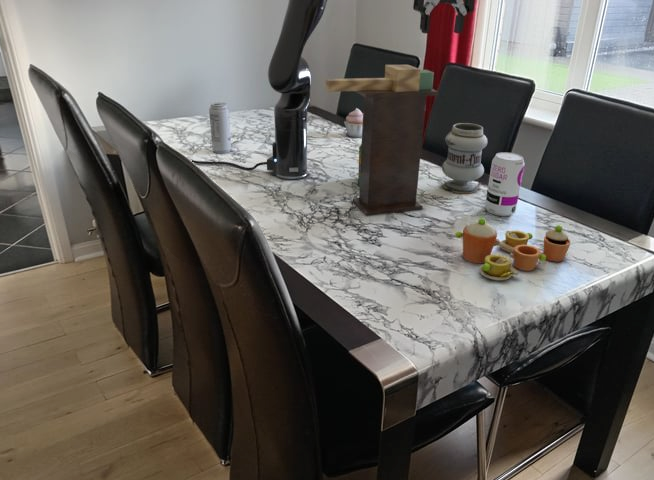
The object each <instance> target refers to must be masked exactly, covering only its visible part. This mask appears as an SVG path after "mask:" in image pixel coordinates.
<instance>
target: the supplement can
mask: <svg viewBox="0 0 654 480" xmlns="http://www.w3.org/2000/svg"><path fill="white" fill-rule="evenodd" d="M525 165H526V164H525V160H524V157H523V155H521V154H518V153H514V152H508V151H507V152H497V153H496V154H495V155H494V157H493V158H492V160H491V166H490V173H489V178H488V185H487V190H486V196H485V203H484V208H485V209H486V212H488V213H489V214H491V215H494V216H499V217H508V216H509V217H510V216H512V215H513V214H515V213H516V211H517V207H518V201H519V196H520V190H521V186H522V180H523V175H524V170H525Z"/></svg>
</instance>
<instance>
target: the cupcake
mask: <svg viewBox="0 0 654 480" xmlns="http://www.w3.org/2000/svg"><path fill="white" fill-rule="evenodd" d="M343 123H344V126H345V128H346V135H347V136H348V137H349V138H350V137H351V138H362V126H363V111H361V110H360V109H359V108H357V107H355V109H354V110H353V111H351V112H349V113H348V115H347V116H346V117H345V120H344V121H343Z"/></svg>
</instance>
